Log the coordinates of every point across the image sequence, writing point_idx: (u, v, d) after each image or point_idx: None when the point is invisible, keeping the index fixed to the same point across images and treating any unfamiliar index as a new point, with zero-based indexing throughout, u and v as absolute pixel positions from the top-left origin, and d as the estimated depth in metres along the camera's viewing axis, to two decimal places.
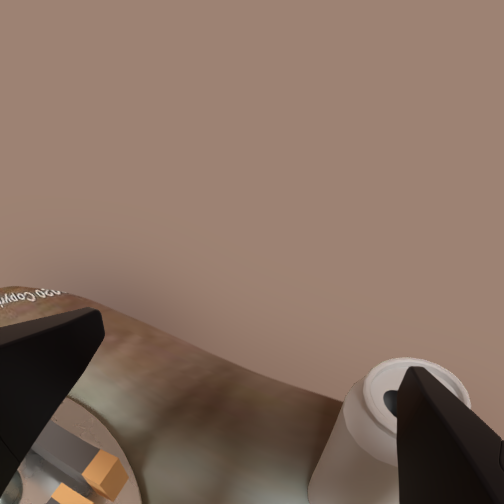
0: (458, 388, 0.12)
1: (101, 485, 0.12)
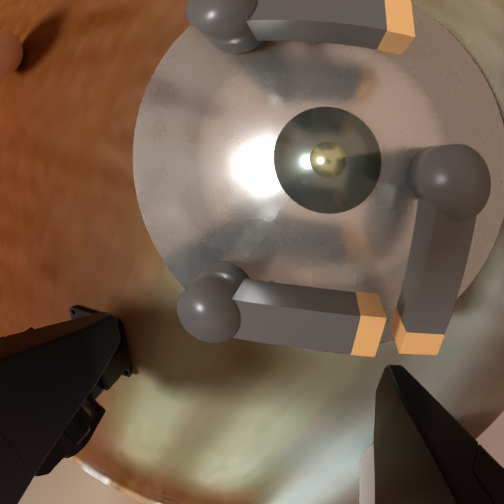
0: None
1: None
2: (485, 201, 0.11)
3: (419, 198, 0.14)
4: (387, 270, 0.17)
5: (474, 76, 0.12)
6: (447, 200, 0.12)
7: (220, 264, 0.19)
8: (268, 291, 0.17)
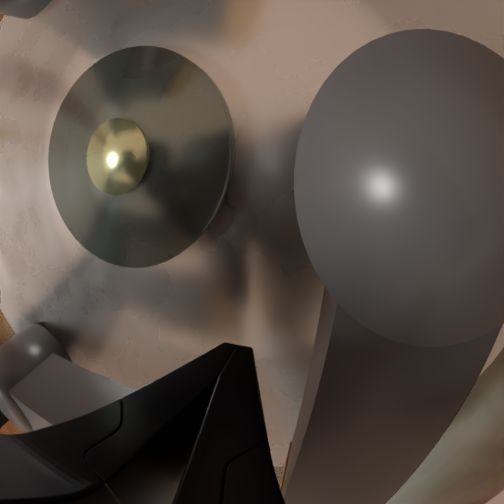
0: None
1: None
2: None
3: None
4: (273, 377, 0.08)
5: None
6: (388, 277, 0.03)
7: (31, 326, 0.10)
8: (59, 386, 0.08)
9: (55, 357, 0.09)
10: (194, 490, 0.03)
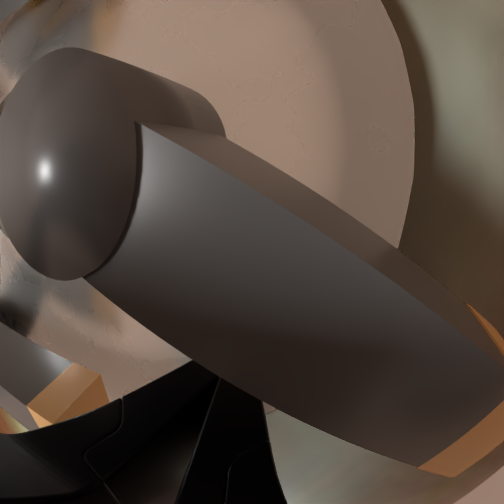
0: None
1: None
2: (104, 74, 0.03)
3: None
4: (119, 339, 0.09)
5: None
6: (66, 239, 0.04)
7: None
8: None
9: None
10: (196, 490, 0.03)
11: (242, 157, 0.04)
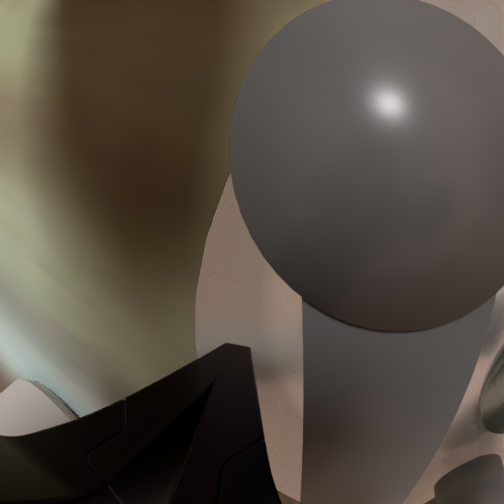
0: None
1: None
2: None
3: (435, 501, 0.08)
4: None
5: None
6: None
7: None
8: None
9: None
10: (190, 489, 0.03)
11: None
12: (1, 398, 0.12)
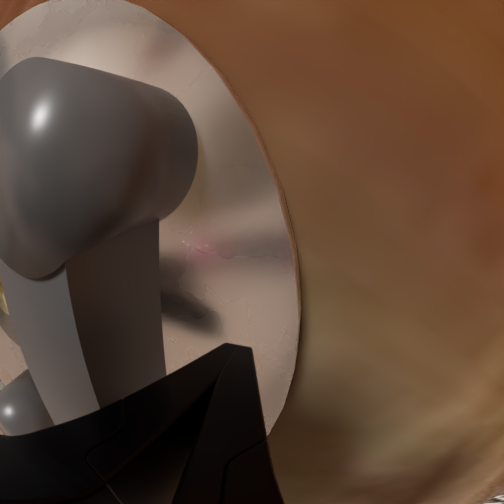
0: None
1: None
2: None
3: None
4: None
5: None
6: (2, 430, 0.09)
7: None
8: None
9: None
10: (193, 490, 0.03)
11: None
12: None
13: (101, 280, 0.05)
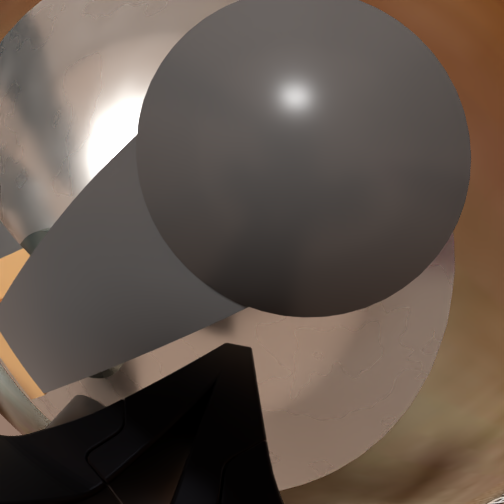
0: None
1: None
2: None
3: None
4: None
5: None
6: None
7: None
8: None
9: None
10: (192, 489, 0.03)
11: None
12: None
13: None
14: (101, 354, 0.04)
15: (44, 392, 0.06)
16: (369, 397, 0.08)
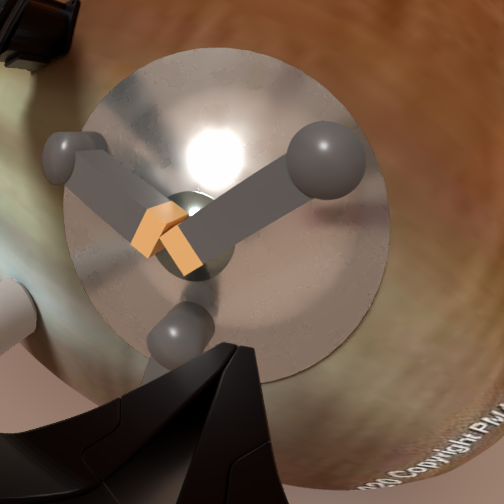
0: None
1: None
2: None
3: None
4: (123, 282, 0.22)
5: (284, 368, 0.21)
6: (157, 354, 0.18)
7: (94, 132, 0.18)
8: (105, 162, 0.17)
9: (104, 151, 0.18)
10: (197, 491, 0.03)
11: None
12: None
13: None
14: (258, 223, 0.14)
15: (203, 262, 0.16)
16: (357, 276, 0.18)
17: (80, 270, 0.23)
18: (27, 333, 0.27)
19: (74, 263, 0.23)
